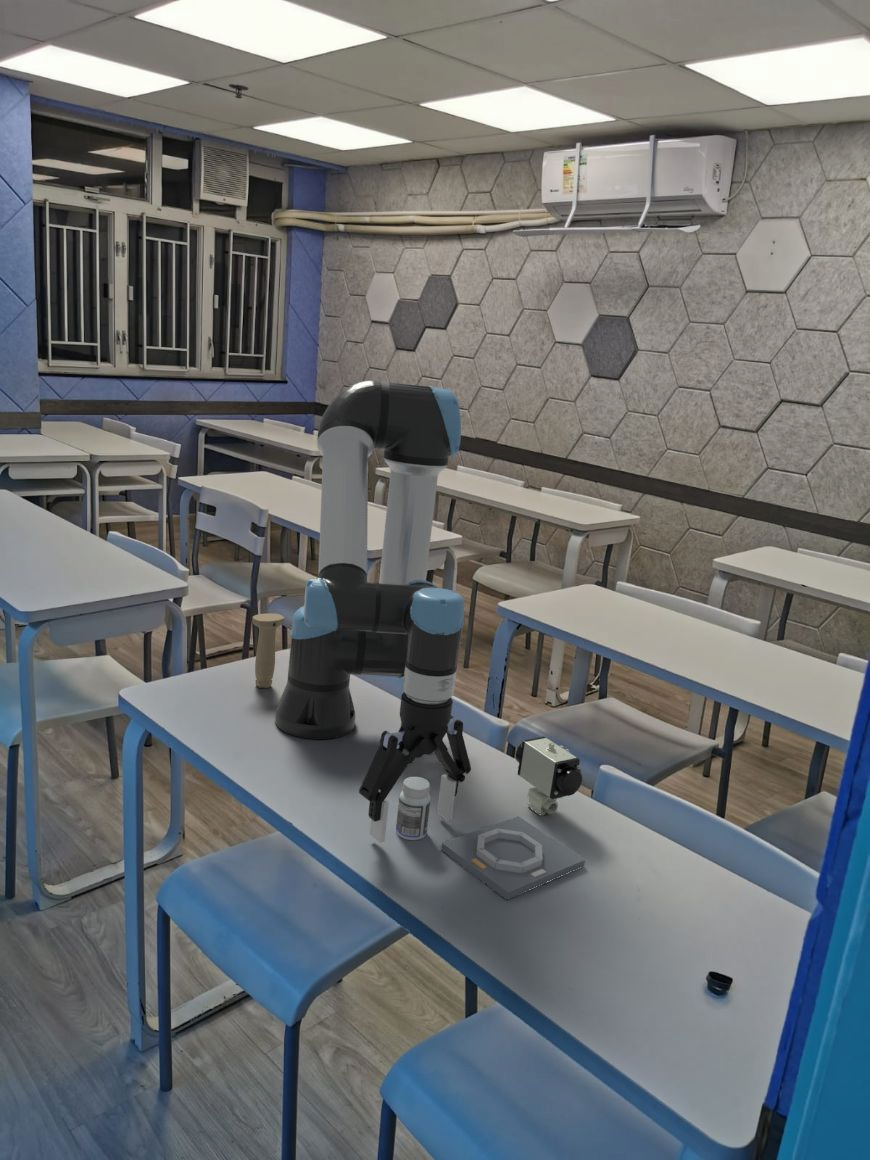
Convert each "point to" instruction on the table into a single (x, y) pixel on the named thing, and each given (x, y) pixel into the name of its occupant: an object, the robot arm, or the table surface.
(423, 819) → the pill bottle
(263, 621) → the handle
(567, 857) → the slate board
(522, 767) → the pneumatic valve
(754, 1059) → the table surface
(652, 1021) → the table surface
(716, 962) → the table surface
